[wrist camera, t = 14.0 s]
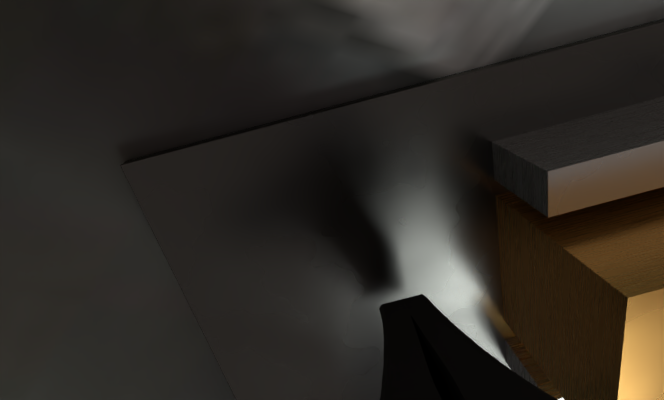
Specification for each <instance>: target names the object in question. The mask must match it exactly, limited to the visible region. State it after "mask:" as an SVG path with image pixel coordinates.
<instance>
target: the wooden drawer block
mask: <svg viewBox="0 0 664 400" xmlns="http://www.w3.org/2000/svg"><path fill="white" fill-rule="evenodd" d="M495 196H496V211H497V226H498V241H499V256H500V271H501V285H502V300H503V315H504V321H505V322H506V323H507V325H508V326H509V327H510V329H511V330H512V331H513V333H514V334H515V335H516V336H517V338H518V339H519V340H520V342H521V343H522V344H523V346H524V347H525V348H526V350H527V351H528V352H529V354H530V355H531V356H532V358H533V359H534V360H535V361H536V363H537V364H538V365H539V367H540V368H541V369H542V371H543V372H544V373H545V375H546V376H547V377H548V379H549V380H550V381H551V382H552V384H553V385H554V386H555V388H556V389H557V390H558V392H559V393H560V394H561V396H562V397H563V398H564V400H664V187H661V188H657V189H654V190H650V191H646V192H642V193H639V194H635V195H631V196H627V197H624V198H620V199H616V200H612V201H609V202H605V203H601V204H597V205H594V206H590V207H586V208H582V209H579V210H575V211H571V212H567V213H564V214H560V215H556V216H552V217H549V218H548V217H547V216H545V215H544V214H542V213H541V212H539V211H538V210H537V209H535V208H534V207H532V206H531V205H530V204H528V203H527V202H525V201H524V200H522V199H521V198H520V197H518V196H517V195H515V194H514V193H512V192H511V191H510V192H507V193H503V194H499V195H495Z"/></svg>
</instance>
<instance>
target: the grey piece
mask: <svg viewBox="0 0 664 400" xmlns="http://www.w3.org/2000/svg"><path fill="white" fill-rule="evenodd" d="M120 166H121V168H122V170H123V172H124V174H125V176H126V178H127V180H128V182H129V184H130V186H131V188H132V190H133V192H134V194H135V196H136V198H137V200H138V202H139V204H140V206H141V208H142V210H143V212H144V214H145V216H146V218H147V220H148V222H149V224H150V226H151V228H152V230H153V232H154V234H155V236H156V239H157V241H158V243H159V245H160V247H161V249H162V251H163V253H164V255H165V257H166V259H167V261H168V263H169V265H170V267H171V269H172V271H173V273H174V275H175V277H176V279H177V281H178V283H179V285H180V287H181V289H182V291H183V293H184V295H185V297H186V299H187V301H188V303H189V305H190V307H191V309H192V311H193V313H194V315H195V317H196V319H197V321H198V323H199V325H200V327H201V329H202V331H203V334H204V336H205V338H206V340H207V342H208V344H209V346H210V348H211V350H212V352H213V354H214V356H215V358H216V360H217V362H218V364H219V366H220V368H221V370H222V372H223V374H224V376H225V378H226V380H227V382H228V384H229V386H230V388H231V390H232V392H233V394H234V396H235V398H236V400H380V397H381V388H382V376H383V364H384V334H383V324H382V319H381V315H380V310H379V308H380V306H381V305H382V304H385V303H389V302H393V301H397V300H401V299H405V298H409V297H412V296H416V295H420V294H423V295H424V296H426V297H427V298H428V299H429V300H430V301H431V302H432V304H433V305H434V306H435V307H436V308H437V309H438V310H439V311H440V312H441V313H442V314H443V315H445V316H446V317H447V318H448V319H449V320H450V321H451V322H452V323H453V324H454V325H455V326H456V327H458V328H459V329H460V330H461V331H462V332H463V333H465V334H466V335H467V336H468V337H469V338H470V339H472V340H473V341H474V342H475V343H476V344H478V345H479V346H480V347H481V348H483V349H484V350H485V351H486V352H488V353H489V354H490V355H492V356H493V357H494V358H496V359H497V360H498V361H500V362H501V363H502V364H504V365H505V366H507V367H508V368H509V369H511V370H512V371H514V372H515V373H517V374H518V375H520V376H521V377H523V378H524V379H526V380H527V381H529V382H530V383H532V384H533V385H535V386H536V387H538V388H540V389H541V390H543V391H545V392H546V393H548V394H549V395H551V396H553V397H554V398H556V399H558V400H564V398H563V397H562V396H561V394H560V393H559V392H558V390H557V389H556V388H555V386H554V385H553V384H552V382H551V381H550V380H549V379H548V377H547V376H546V375H545V373H544V372H543V371H542V369H541V368H540V367H539V365H538V364H537V363H536V361H535V360H534V359H533V358H532V356H531V355H530V354H529V352H528V351H527V350H526V348H525V347H524V346H523V344H522V343H521V342H520V340H519V339H518V338H517V336H516V335H515V334H514V333H513V331H512V330H511V329H510V327H509V326H508V325H507V323H506V322H505V321H504V315H503V300H502V285H501V271H500V256H499V241H498V226H497V211H496V196H495V195H499V194H503V193H507V192H510V191H511V192H512V193H514V194H515V195H517V196H518V197H520V198H521V199H522V200H524V201H525V202H527V203H528V204H530V205H531V206H532V207H534V208H535V209H537V210H538V211H539V212H541V213H542V214H544V215H545V216H547V217H548V218H549V217H552V216H556V215H560V214H564V213H567V212H571V211H575V210H579V209H582V208H586V207H590V206H594V205H597V204H601V203H605V202H609V201H612V200H616V199H620V198H624V197H627V196H631V195H635V194H639V193H642V192H646V191H650V190H654V189H657V188H661V187H664V19H662V20H658V21H654V22H650V23H646V24H643V25H639V26H635V27H631V28H627V29H624V30H620V31H616V32H612V33H609V34H605V35H601V36H597V37H593V38H590V39H586V40H582V41H578V42H574V43H571V44H567V45H563V46H559V47H556V48H552V49H548V50H544V51H540V52H537V53H533V54H529V55H525V56H521V57H518V58H514V59H510V60H506V61H502V62H499V63H495V64H491V65H487V66H484V67H480V68H476V69H472V70H468V71H465V72H461V73H457V74H453V75H449V76H446V77H442V78H438V79H434V80H431V81H427V82H423V83H419V84H415V85H412V86H408V87H404V88H400V89H396V90H393V91H389V92H385V93H381V94H377V95H374V96H370V97H366V98H362V99H359V100H355V101H351V102H347V103H343V104H340V105H336V106H332V107H328V108H324V109H321V110H317V111H313V112H309V113H306V114H302V115H298V116H294V117H290V118H287V119H283V120H279V121H275V122H271V123H268V124H264V125H260V126H256V127H252V128H249V129H245V130H241V131H237V132H234V133H230V134H226V135H222V136H218V137H215V138H211V139H207V140H203V141H199V142H196V143H192V144H188V145H184V146H181V147H177V148H173V149H169V150H165V151H162V152H158V153H154V154H150V155H146V156H143V157H139V158H135V159H131V160H127V161H125V162H124V163H123V164H122V165H120Z"/></svg>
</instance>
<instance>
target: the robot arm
mask: <svg viewBox="0 0 664 400" xmlns="http://www.w3.org/2000/svg"><path fill="white" fill-rule="evenodd" d="M379 310H380V315H381V319H382V324H383V334H384V364H383V376H382V388H381V397H380V400H558V399H556V398H554V397H553V396H551V395H549V394H548V393H546V392H545V391H543V390H541V389H540V388H538V387H536V386H535V385H533V384H532V383H530V382H529V381H527V380H526V379H524V378H523V377H521V376H520V375H518V374H517V373H515V372H514V371H512V370H511V369H509V368H508V367H507V366H505V365H504V364H502V363H501V362H500V361H498V360H497V359H496V358H494V357H493V356H492V355H490V354H489V353H488V352H486V351H485V350H484V349H483V348H481V347H480V346H479V345H478V344H476V343H475V342H474V341H473V340H472V339H470V338H469V337H468V336H467V335H466V334H465V333H463V332H462V331H461V330H460V329H459V328H458V327H456V326H455V325H454V324H453V323H452V322H451V321H450V320H449V319H448V318H447V317H446V316H445V315H443V314H442V313H441V312H440V311H439V310H438V309H437V308H436V307H435V306H434V305H433V304H432V302H431V301H430V300H429V299H428V298H427V297H426V296H424V295H423V294H420V295H416V296H412V297H409V298H405V299H401V300H397V301H393V302H389V303H385V304H382V305H381V306H380V308H379Z"/></svg>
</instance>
